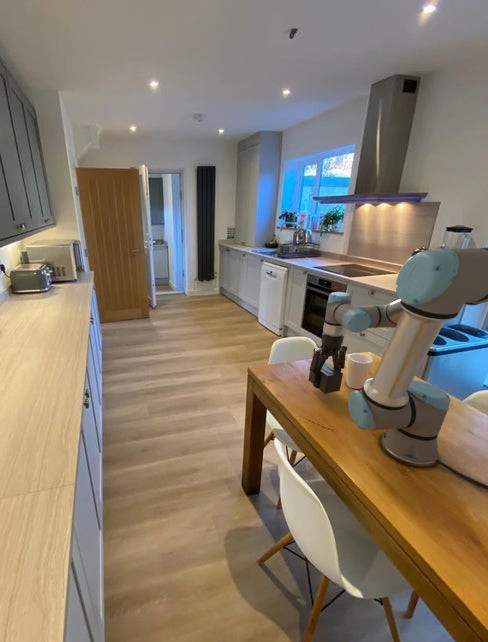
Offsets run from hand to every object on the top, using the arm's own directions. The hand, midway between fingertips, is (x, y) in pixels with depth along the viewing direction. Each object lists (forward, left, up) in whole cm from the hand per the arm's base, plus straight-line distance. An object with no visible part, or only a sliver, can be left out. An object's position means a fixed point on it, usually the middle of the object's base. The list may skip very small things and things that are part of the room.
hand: (324, 385), depth 132 cm
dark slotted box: (+1, 0, 0) cm, 1 cm away
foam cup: (+3, -18, -5) cm, 19 cm away
